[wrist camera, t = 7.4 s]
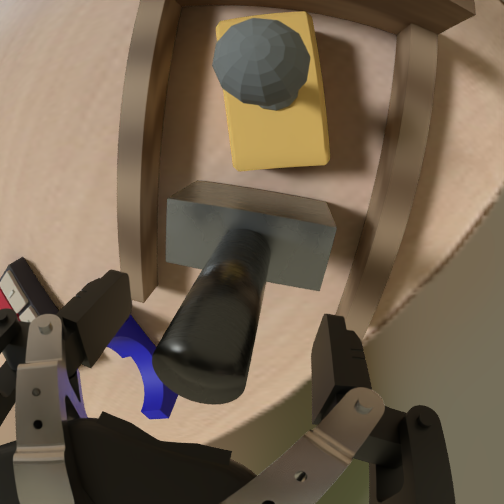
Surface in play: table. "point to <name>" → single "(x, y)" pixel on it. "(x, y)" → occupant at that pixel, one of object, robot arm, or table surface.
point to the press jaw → (233, 278)
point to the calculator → (24, 292)
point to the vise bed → (392, 155)
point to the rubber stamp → (272, 91)
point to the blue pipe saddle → (144, 369)
